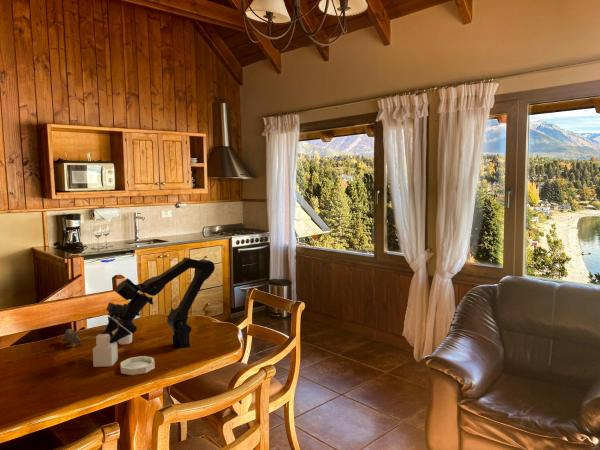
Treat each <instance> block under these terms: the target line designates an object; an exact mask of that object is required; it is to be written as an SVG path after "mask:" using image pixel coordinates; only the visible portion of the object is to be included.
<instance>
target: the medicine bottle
mask: <svg viewBox="0 0 600 450" xmlns="http://www.w3.org/2000/svg"><path fill="white" fill-rule="evenodd" d="M113 335H114V333H113V332H104V331H102V332H99V333H97V334H96V335H95V341H96V345H95V346H94V347H93V348H92V366H93V367H94V368H98V367H99V368H102V367H114V364H115V363H116V362H117V361H118V360H119V356H118V355H119V352H118V341H116V342H114V343H112V344H111V343H110V342H109V341H110V340H111V338H112V337H113Z"/></svg>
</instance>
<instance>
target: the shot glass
mask: <svg viewBox="0 0 600 450" xmlns="http://www.w3.org/2000/svg"><path fill="white" fill-rule="evenodd" d="M120 325H121V324H120ZM121 326H122V325H121ZM116 331H117V329H116ZM130 333H131V332H130ZM131 343H133V333H131V335H128V336H125V337H123V338H121V339H119V340H117V344H119V345H129V344H131Z"/></svg>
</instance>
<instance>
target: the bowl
mask: <svg viewBox="0 0 600 450" xmlns="http://www.w3.org/2000/svg"><path fill="white" fill-rule="evenodd" d="M155 364H156V363H155V358H154V357H150V356H146V355H140V356H134V357H129V358H127V359H125V360H123V361H121V362H120V374H124V375H129V376H134V375H135V376H136V375H143V374H146V373H147V374H148V372H150V371H152V370H154V369H155V368H156V367H155V366H156V365H155Z"/></svg>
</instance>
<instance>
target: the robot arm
mask: <svg viewBox="0 0 600 450" xmlns="http://www.w3.org/2000/svg"><path fill="white" fill-rule="evenodd" d="M189 269H194V273H193V275H194V276H193V278H192V280H191V282H190V284H189V285H188V287H187V289H186V291H185V293H184V295H183V297H182V298H181V300H180V303H179V304H178V306H177V307H176V308H171V309H170V312H169V314H168V315H167V316H166V317H167V319H166V324H167V325H168V327H170V328H171V330H172V334H171V344H172V346H173V347H174V349H179V348H180V349H181V348H187V347H188V348H189V347H191V343H190V333H191V332H192V327H191V326H190V325H189V324H187V322H188V319H189V312H190V309H191V307H192V305H193V303H194V302H195V299H196V297H197V296H198V294H199V292H200V291H201V290H200V289H201V288H202V286H203V284H204V282H205V281H207V280H208V278H210V277H211V275H212V274H213V273H214V272H215V269H216V266H215V263H214V262H213V261H210V260H208V259H205V258H202V259H199V260H198V259H194V258H192V257H191V258H190V257H184V258H183V259H182V260H180V261H178V263H176V264H175V265H173V266H171V267H169V269H167V270H165V271H164V272H162V273H161V274H159V275H155V276H152V277H149V278H148V279H145V280H144V281H143V282H141V283H138V284H135V283H134V282H133V281H132V280H131V279H129V278H125V279H124V280H122V281H121V282H119V283H118V284H117V285H116V286H115V289H114V291H115V293H116V294H117V295H119V296H120V297H121V298H123V299H124V301H125V300H126V301H128V300H129V301H128V303H124V304H120V303H113V302H108V305H107V307H106V309H105V311H107V321H108V322H107V324H106V327H105V329H104V331H103V332H112V333H113V332H114V331H115V330H116V329H117V330H116V331H115V332H114V333H113V337H112V338H111V340H110V341H109V342H110V343H111V344H112V343H114V342H118V340H119V339H121V338H123V337H125V336H128V335H131V333H132V335H134V334H135V332H136V331H137V330H138V329H137V326H136V325H135V324H133V323H134V322H133V321H134V319H135V318H136V317H139V316H140V312H141V311H142V310H143V308H145V307H146V305H148V304H149V305H151V306H152V305H154V301H153V300H154V298H153V297H156V296H157V295H158V294H159V293H161V292H162V291H163V290H164V288H165V287H166V286H167V284H168V283H170V282H171V281H174V279H176V278H177V277H179V276H180V275H181V274H183V273H185V272H186V271H188V270H189ZM148 295H149V296H148ZM121 325H122V326H121ZM130 332H131V333H130Z"/></svg>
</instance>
